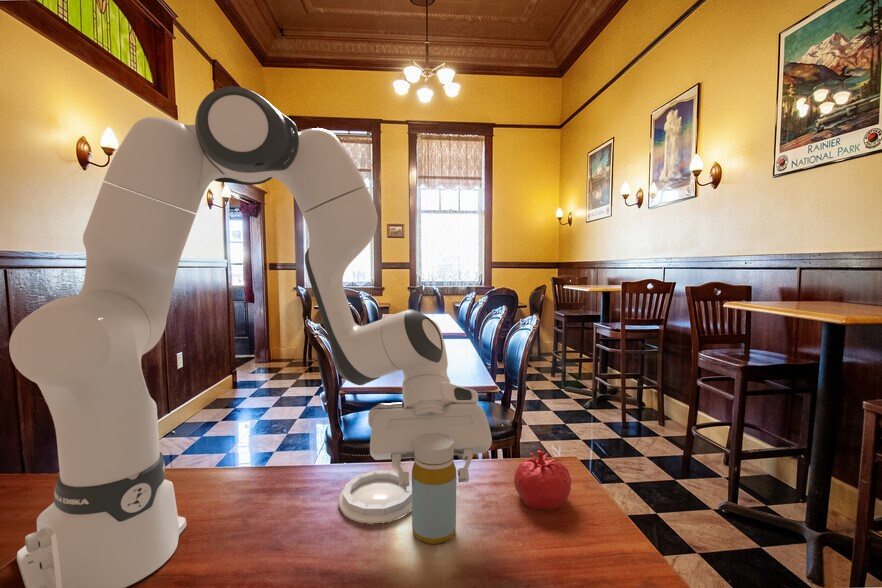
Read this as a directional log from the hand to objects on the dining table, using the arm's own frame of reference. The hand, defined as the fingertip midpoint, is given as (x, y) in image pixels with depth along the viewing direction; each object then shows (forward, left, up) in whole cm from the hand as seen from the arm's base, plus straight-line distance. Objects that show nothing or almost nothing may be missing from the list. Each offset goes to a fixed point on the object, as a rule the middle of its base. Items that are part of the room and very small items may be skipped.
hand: (434, 483), depth 66 cm
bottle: (0, +1, -9) cm, 9 cm away
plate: (-13, +4, -8) cm, 16 cm away
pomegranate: (+13, +18, -9) cm, 23 cm away
